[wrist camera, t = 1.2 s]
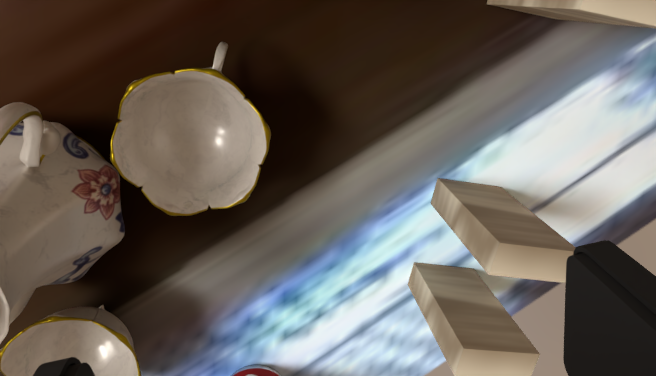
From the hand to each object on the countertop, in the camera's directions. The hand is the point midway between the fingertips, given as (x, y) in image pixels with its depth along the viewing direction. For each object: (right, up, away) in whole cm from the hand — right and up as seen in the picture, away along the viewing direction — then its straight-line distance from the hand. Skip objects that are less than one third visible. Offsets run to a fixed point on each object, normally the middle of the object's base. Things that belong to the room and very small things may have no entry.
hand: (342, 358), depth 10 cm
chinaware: (-16, +2, +24) cm, 29 cm away
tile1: (+9, -4, +29) cm, 31 cm away
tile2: (+10, +3, +27) cm, 29 cm away
